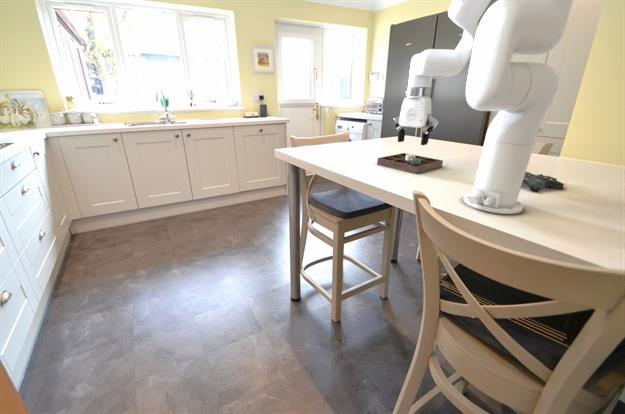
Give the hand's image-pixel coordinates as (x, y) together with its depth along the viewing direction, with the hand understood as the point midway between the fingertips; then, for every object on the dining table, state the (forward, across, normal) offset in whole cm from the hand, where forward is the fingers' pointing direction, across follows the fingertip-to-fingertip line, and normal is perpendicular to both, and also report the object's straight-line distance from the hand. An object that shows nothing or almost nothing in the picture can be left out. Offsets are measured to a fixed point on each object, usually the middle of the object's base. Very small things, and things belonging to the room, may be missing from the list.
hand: (411, 143), depth 105 cm
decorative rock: (+9, +36, +11) cm, 39 cm away
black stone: (+8, +6, -6) cm, 11 cm away
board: (+8, 0, 0) cm, 8 cm away
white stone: (+8, 0, 0) cm, 8 cm away
